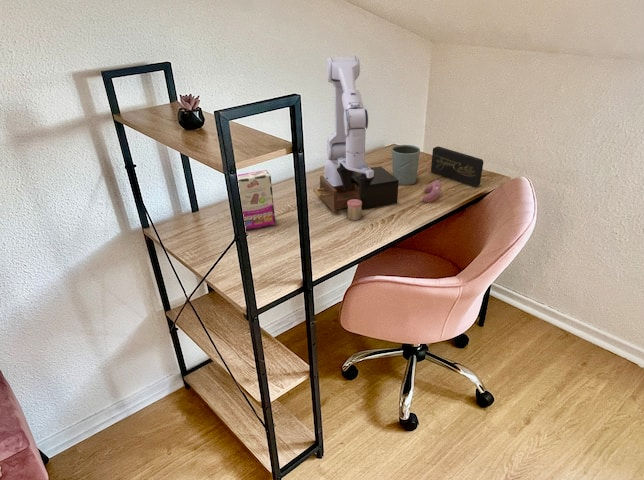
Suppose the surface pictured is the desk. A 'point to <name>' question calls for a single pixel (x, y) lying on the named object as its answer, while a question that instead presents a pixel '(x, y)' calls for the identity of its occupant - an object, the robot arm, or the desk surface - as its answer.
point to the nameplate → (457, 166)
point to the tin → (354, 209)
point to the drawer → (336, 194)
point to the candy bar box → (257, 199)
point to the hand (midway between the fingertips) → (354, 193)
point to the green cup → (405, 163)
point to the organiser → (379, 189)
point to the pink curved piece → (432, 191)
